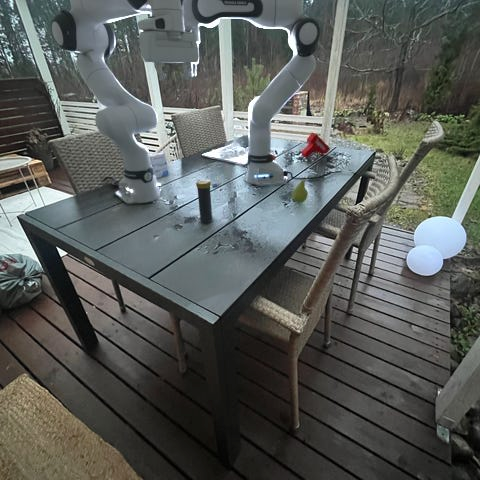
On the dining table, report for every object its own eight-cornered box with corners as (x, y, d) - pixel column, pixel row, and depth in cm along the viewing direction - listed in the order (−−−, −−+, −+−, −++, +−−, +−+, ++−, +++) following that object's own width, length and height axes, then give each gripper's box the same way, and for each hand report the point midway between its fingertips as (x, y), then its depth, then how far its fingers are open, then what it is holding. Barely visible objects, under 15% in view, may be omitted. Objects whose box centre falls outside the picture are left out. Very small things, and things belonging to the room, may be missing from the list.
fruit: (288, 200, 123) (290, 174, 116) (302, 197, 125) (305, 172, 119) (296, 206, 118) (299, 179, 111) (310, 203, 120) (314, 177, 114)
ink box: (164, 172, 156) (160, 151, 150) (168, 174, 153) (165, 153, 147) (150, 176, 151) (146, 154, 145) (155, 178, 148) (151, 156, 142)
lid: (213, 186, 99) (213, 181, 98) (201, 189, 97) (200, 185, 96) (205, 182, 103) (205, 177, 102) (193, 185, 100) (193, 180, 99)
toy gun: (302, 154, 174) (315, 133, 171) (298, 152, 177) (311, 132, 174) (316, 167, 185) (330, 148, 182) (312, 166, 188) (325, 147, 185)
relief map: (243, 165, 166) (243, 156, 164) (202, 156, 184) (201, 148, 181) (267, 155, 185) (267, 147, 182) (227, 147, 202) (227, 140, 200)
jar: (214, 221, 107) (212, 182, 99) (204, 224, 105) (201, 185, 96) (208, 216, 110) (205, 179, 102) (198, 220, 108) (194, 182, 99)
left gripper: (187, 28, 87) (191, 78, 94) (132, 22, 73) (142, 81, 81) (201, 27, 84) (204, 79, 91) (146, 20, 70) (156, 81, 78)
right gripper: (192, 34, 104) (196, 76, 111) (199, 39, 121) (202, 75, 128) (176, 34, 104) (180, 76, 111) (185, 39, 121) (189, 75, 128)
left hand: (175, 80), depth 86 cm, fingers open, 8 cm apart
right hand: (192, 76), depth 120 cm, fingers open, 8 cm apart
